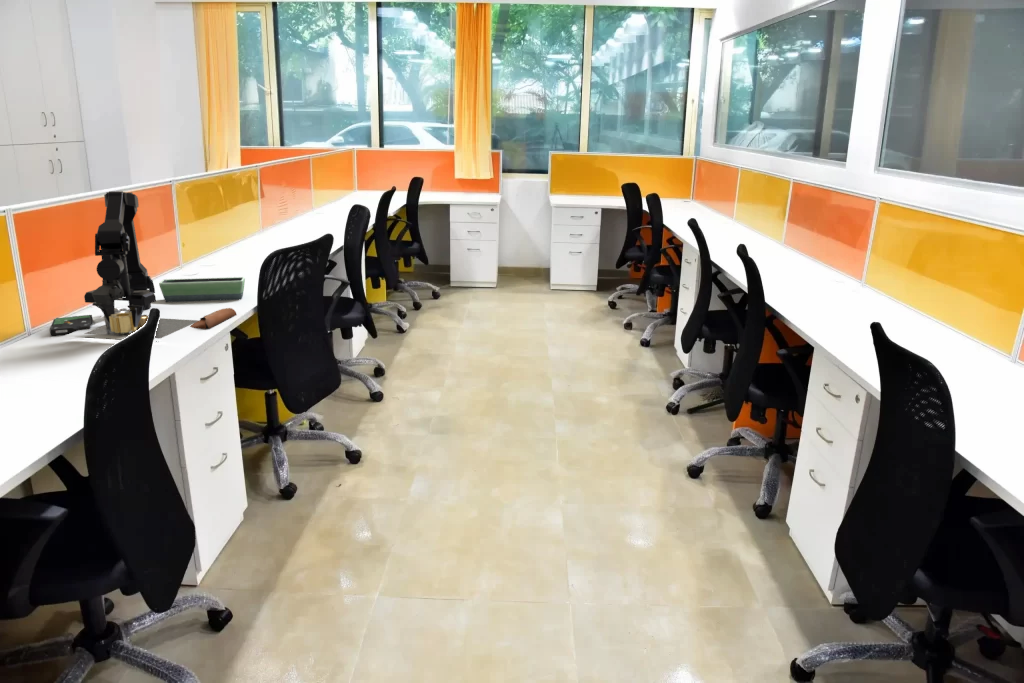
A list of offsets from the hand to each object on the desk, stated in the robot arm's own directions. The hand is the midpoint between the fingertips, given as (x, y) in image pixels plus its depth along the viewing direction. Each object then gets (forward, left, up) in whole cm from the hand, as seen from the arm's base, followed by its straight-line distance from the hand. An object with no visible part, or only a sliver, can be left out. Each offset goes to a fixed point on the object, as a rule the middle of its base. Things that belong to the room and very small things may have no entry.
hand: (124, 326), depth 209 cm
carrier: (-7, +1, -3) cm, 8 cm away
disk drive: (-5, -21, -4) cm, 22 cm away
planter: (-49, -4, -4) cm, 49 cm away
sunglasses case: (-17, +17, -4) cm, 24 cm away
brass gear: (0, 0, -1) cm, 1 cm away
